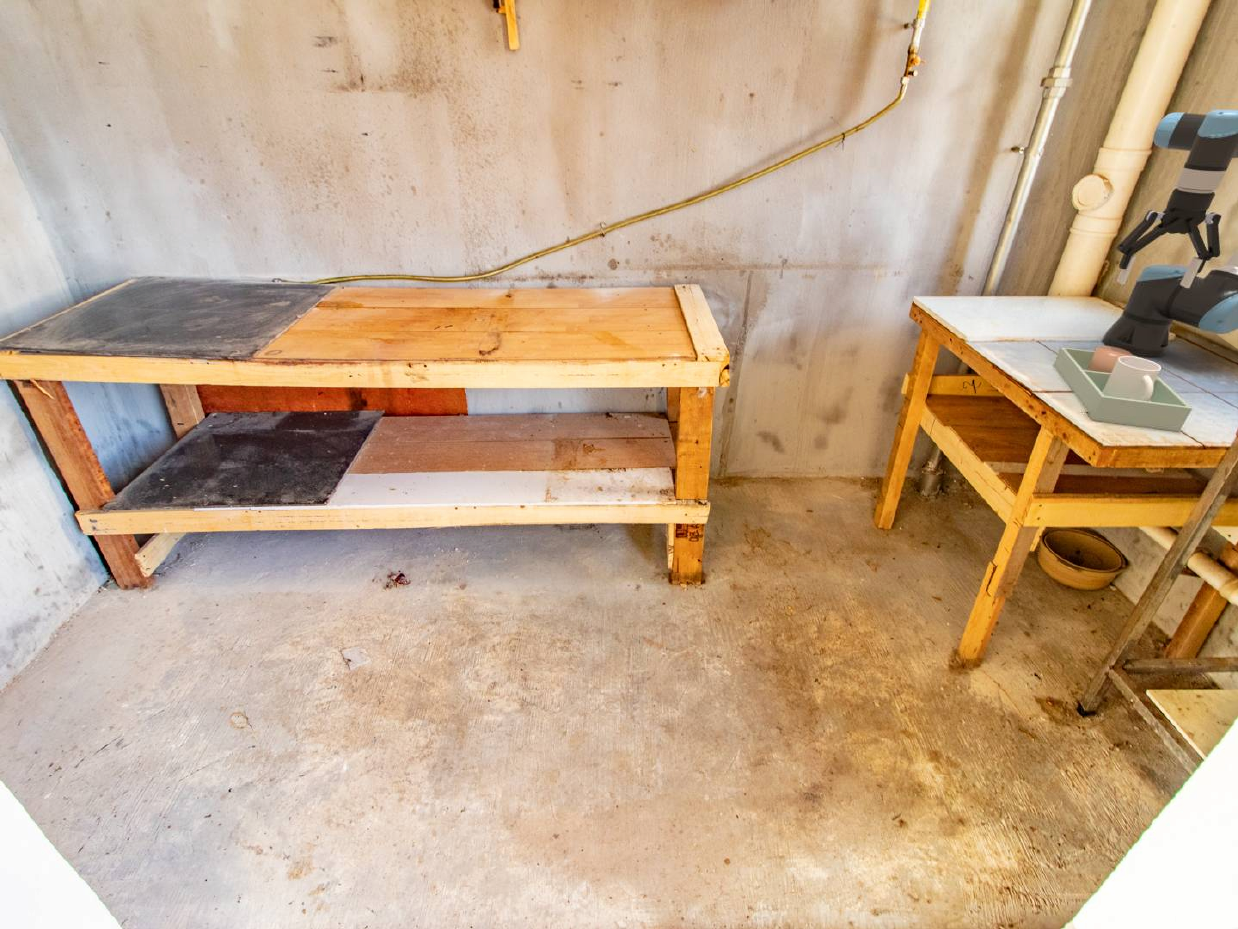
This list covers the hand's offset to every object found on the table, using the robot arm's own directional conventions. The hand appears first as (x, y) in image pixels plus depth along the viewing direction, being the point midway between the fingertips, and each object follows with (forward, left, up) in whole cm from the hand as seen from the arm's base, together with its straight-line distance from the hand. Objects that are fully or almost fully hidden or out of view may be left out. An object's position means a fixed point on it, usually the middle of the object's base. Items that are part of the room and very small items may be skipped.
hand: (1152, 284), depth 155 cm
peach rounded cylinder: (+4, +5, -24) cm, 24 cm away
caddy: (+4, +13, -24) cm, 28 cm away
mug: (+4, +20, -24) cm, 31 cm away
